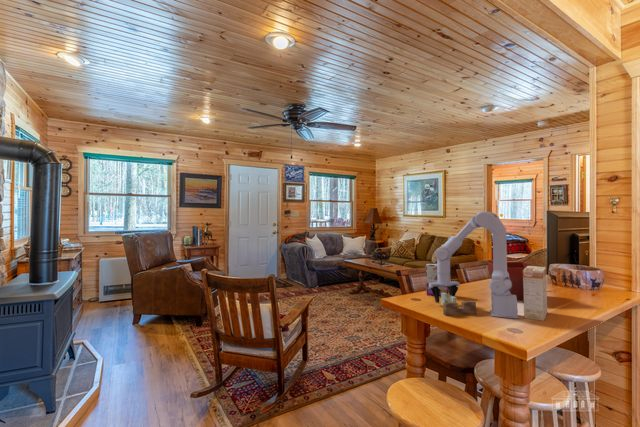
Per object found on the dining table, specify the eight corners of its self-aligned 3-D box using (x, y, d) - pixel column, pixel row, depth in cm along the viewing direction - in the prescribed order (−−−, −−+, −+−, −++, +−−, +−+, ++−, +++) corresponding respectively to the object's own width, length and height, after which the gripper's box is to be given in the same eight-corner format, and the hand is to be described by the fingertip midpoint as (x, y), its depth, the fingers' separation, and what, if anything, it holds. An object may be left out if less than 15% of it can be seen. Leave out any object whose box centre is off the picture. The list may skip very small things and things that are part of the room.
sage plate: (441, 304, 156) (440, 292, 156) (444, 304, 156) (444, 292, 156) (453, 310, 146) (453, 297, 146) (456, 309, 146) (456, 297, 146)
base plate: (473, 312, 142) (472, 300, 142) (476, 313, 140) (475, 301, 140) (443, 314, 139) (443, 302, 139) (446, 315, 137) (445, 303, 137)
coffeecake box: (528, 309, 145) (527, 265, 145) (548, 312, 140) (546, 266, 140) (523, 318, 133) (522, 270, 133) (544, 321, 129) (543, 271, 129)
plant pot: (547, 302, 157) (546, 267, 157) (507, 302, 157) (506, 267, 157) (523, 293, 176) (522, 261, 176) (487, 293, 176) (486, 262, 176)
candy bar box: (448, 294, 175) (447, 263, 176) (448, 296, 171) (448, 265, 171) (426, 293, 179) (425, 263, 179) (426, 295, 174) (425, 264, 174)
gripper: (452, 271, 160) (453, 299, 160) (425, 272, 157) (426, 300, 157) (461, 273, 153) (462, 302, 153) (433, 274, 150) (433, 304, 150)
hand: (444, 302), depth 154 cm, fingers open, 7 cm apart
